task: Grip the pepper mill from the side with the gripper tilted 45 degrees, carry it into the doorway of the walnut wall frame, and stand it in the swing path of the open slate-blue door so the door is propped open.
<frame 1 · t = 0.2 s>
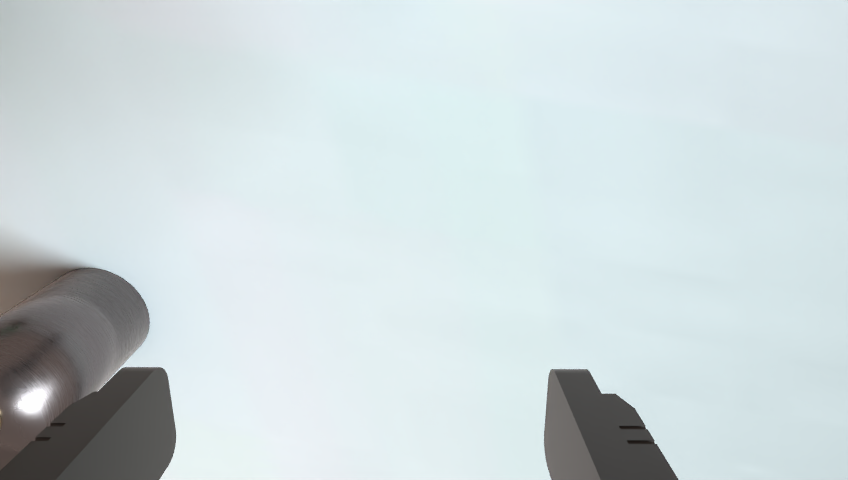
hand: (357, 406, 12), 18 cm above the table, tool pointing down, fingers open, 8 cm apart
pepper mill: (98, 314, 31), on the table
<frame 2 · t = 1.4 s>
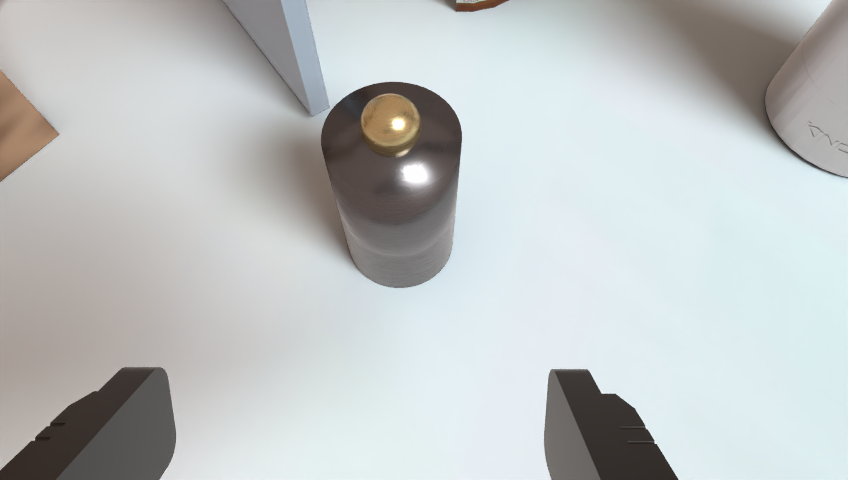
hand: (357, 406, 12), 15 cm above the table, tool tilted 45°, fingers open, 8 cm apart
door frame: (143, 44, 37), on the table
pepper mill: (400, 239, 30), on the table
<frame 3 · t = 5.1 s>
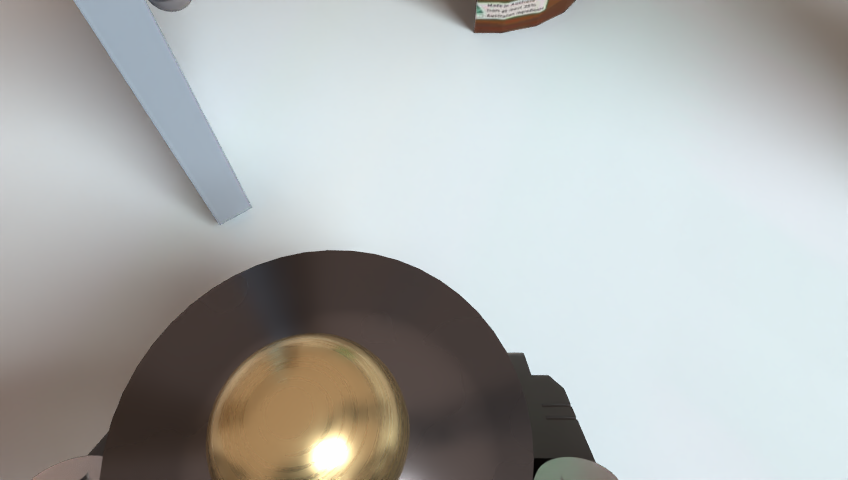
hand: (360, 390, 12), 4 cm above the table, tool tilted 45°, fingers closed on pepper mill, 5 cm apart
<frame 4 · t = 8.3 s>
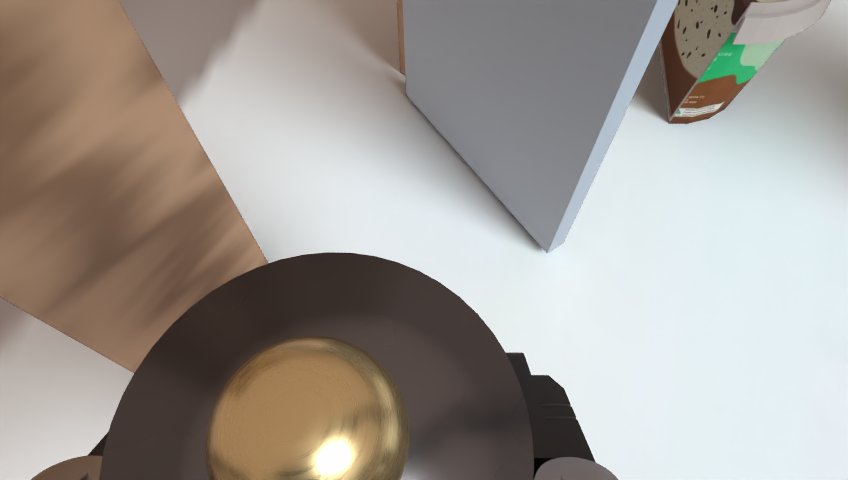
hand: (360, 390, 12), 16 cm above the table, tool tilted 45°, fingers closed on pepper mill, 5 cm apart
door frame: (343, 162, 35), on the table
food container: (706, 75, 38), on the table
cabinet door: (507, 43, 26), point 10 cm above the table, hinge at 70.0°
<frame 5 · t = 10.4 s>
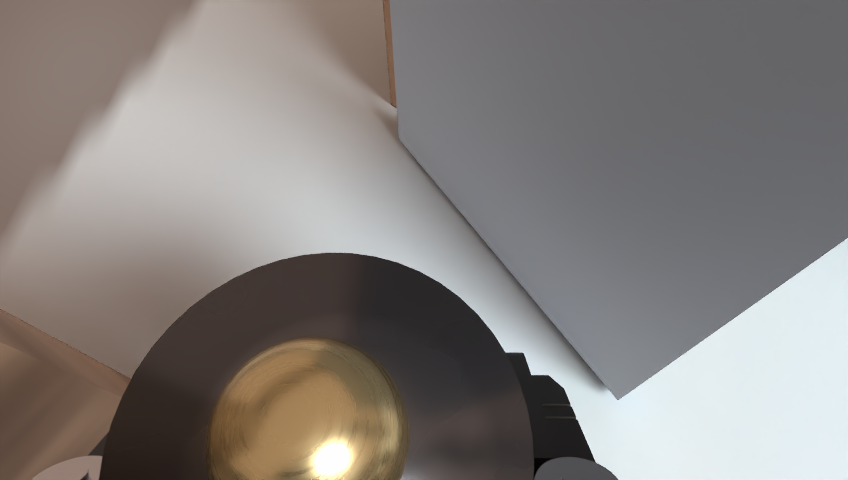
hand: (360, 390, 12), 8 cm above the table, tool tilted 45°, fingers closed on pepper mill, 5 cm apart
door frame: (304, 242, 23), on the table
cabinet door: (571, 78, 15), point 10 cm above the table, hinge at 70.0°
when the fingers open (6 cm above the table, at t = 11.9 s): pepper mill drops 1 cm, on the table.
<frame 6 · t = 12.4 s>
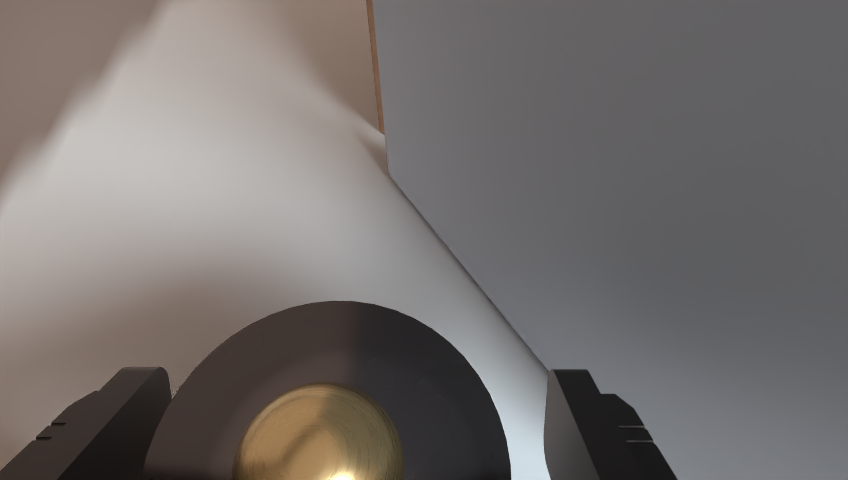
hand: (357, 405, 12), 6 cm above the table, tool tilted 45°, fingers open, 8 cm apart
door frame: (274, 301, 19), on the table
cabinet door: (614, 121, 11), point 10 cm above the table, hinge at 70.0°
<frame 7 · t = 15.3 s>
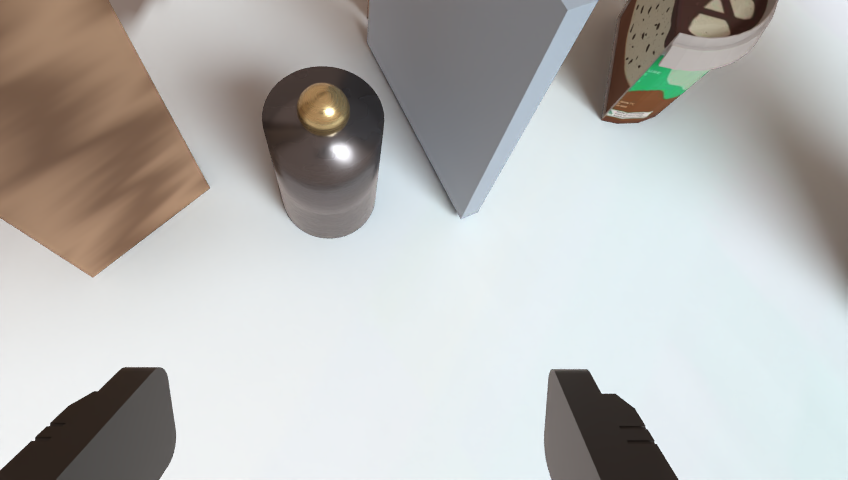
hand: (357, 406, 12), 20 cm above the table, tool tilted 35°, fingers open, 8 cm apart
door frame: (294, 96, 37), on the table
food container: (648, 80, 41), on the table
cabinet door: (454, 24, 28), point 9 cm above the table, hinge at 70.0°
pepper mill: (329, 195, 35), on the table
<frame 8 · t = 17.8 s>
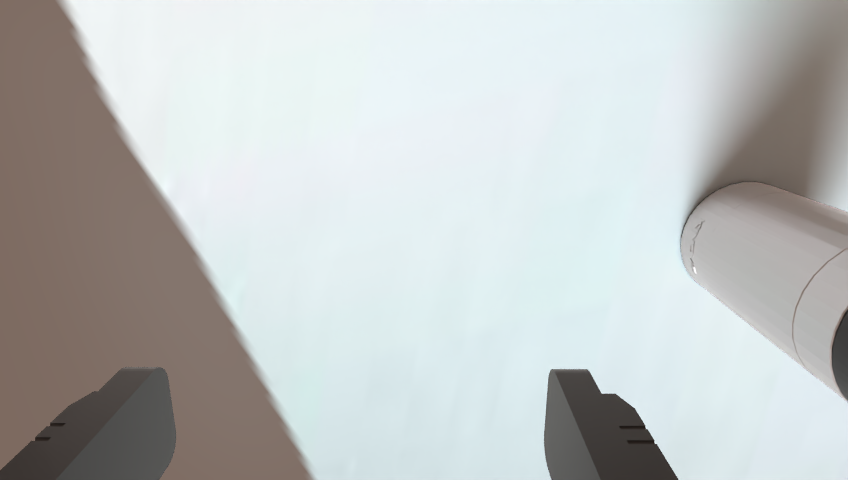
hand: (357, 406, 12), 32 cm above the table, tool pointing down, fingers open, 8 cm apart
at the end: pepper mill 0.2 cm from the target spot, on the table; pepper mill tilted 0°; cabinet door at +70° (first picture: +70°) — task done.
